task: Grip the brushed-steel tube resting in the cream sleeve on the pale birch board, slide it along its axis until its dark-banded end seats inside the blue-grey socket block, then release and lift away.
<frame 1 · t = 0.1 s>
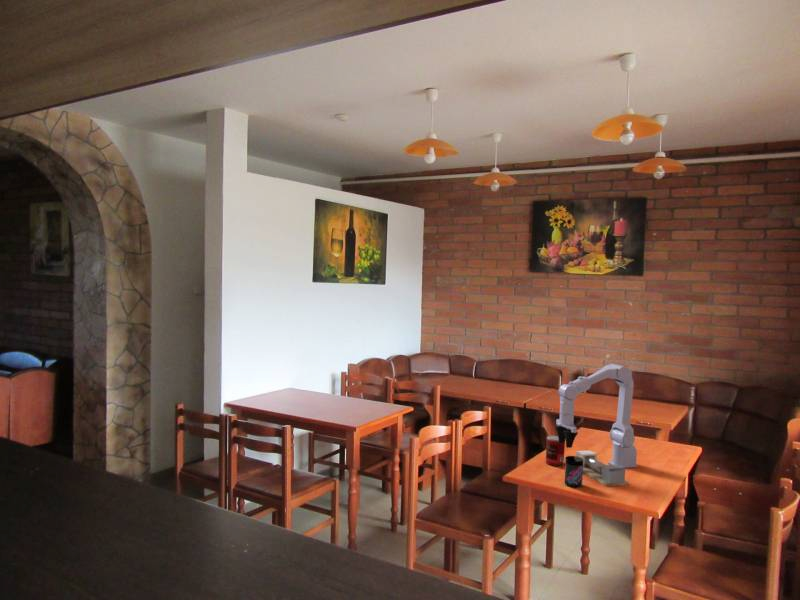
hand: (565, 445, 242), 10 cm above the table, tool pointing down, fingers open, 6 cm apart
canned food: (554, 463, 250), on the table, touching gripper
board: (597, 474, 237), on the table
tube: (592, 463, 241), point 3 cm above the table, slide at 0.0 cm
supplement container: (573, 485, 224), on the table
socket: (612, 482, 228), resting on board
sleeve: (585, 467, 246), resting on board
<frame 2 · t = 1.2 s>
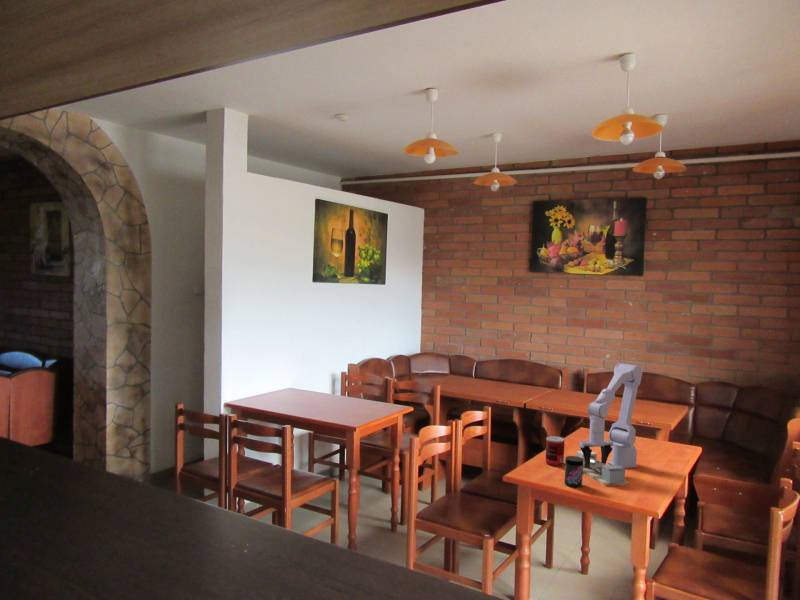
hand: (595, 463, 239), 4 cm above the table, tool pointing down, fingers open, 7 cm apart
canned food: (554, 464, 250), on the table
everything else where it was.
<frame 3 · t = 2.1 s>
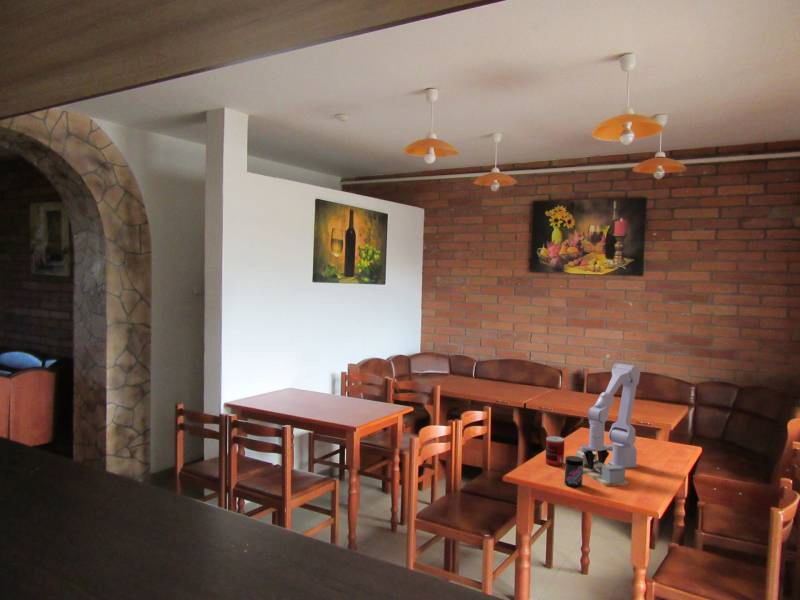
hand: (595, 468, 239), 2 cm above the table, tool pointing down, fingers closed on tube, 4 cm apart
tube: (592, 463, 241), point 3 cm above the table, slide at 0.0 cm, touching gripper
everything else where it was.
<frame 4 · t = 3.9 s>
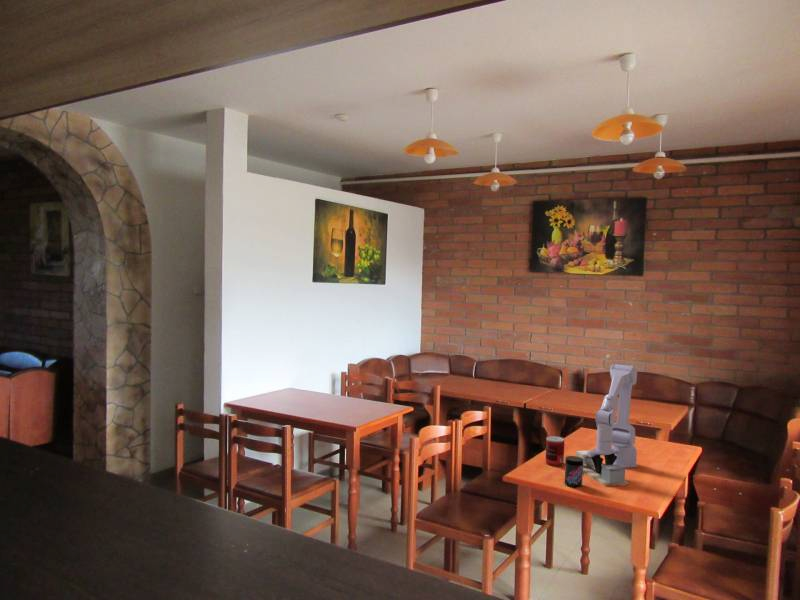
hand: (603, 472, 234), 2 cm above the table, tool pointing down, fingers closed on tube, 4 cm apart
tube: (599, 467, 236), point 3 cm above the table, slide at 5.0 cm, touching gripper
everything else where it was.
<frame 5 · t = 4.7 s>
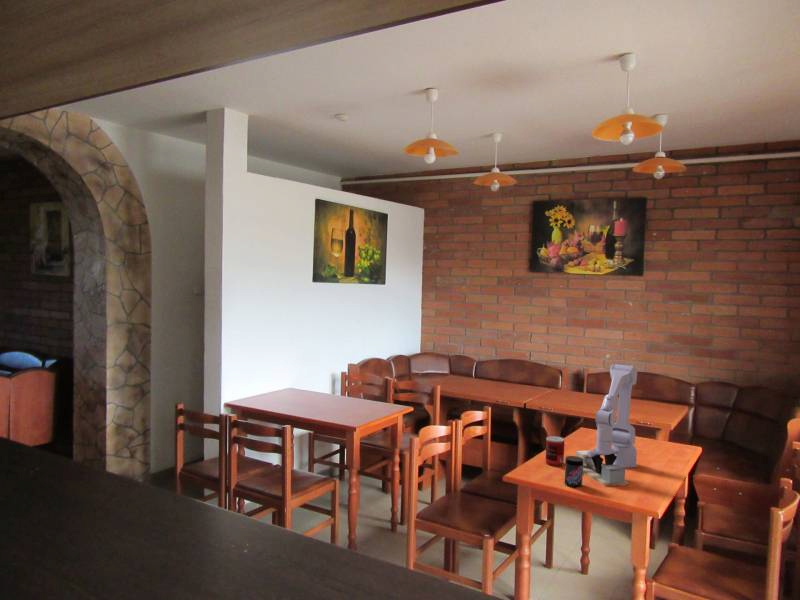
hand: (603, 472, 234), 2 cm above the table, tool pointing down, fingers closed on tube, 4 cm apart
tube: (599, 467, 236), point 3 cm above the table, slide at 5.0 cm, touching gripper
everything else where it was.
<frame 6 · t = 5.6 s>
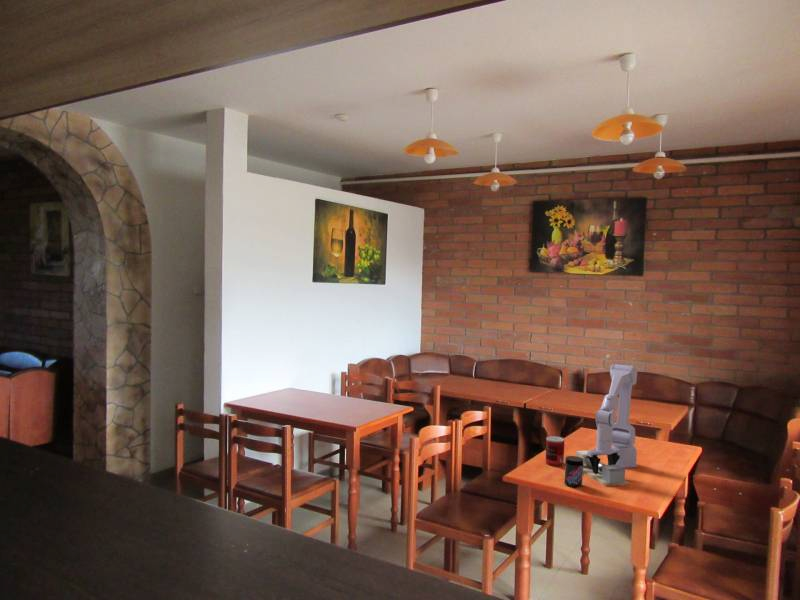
hand: (603, 472, 234), 2 cm above the table, tool pointing down, fingers open, 7 cm apart
tube: (599, 467, 236), point 3 cm above the table, slide at 5.0 cm
everything else where it was.
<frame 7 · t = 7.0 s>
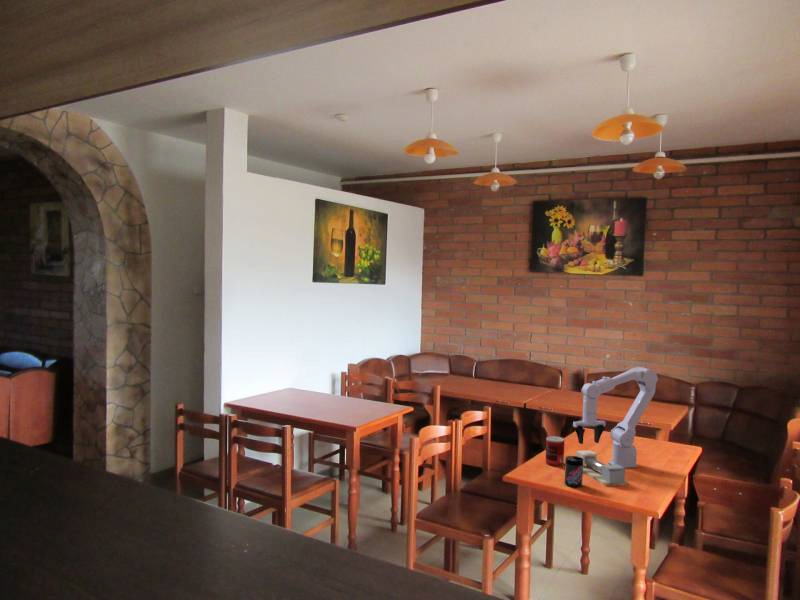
hand: (588, 442, 248), 10 cm above the table, tool pointing down, fingers open, 7 cm apart
nothing on the table moved.
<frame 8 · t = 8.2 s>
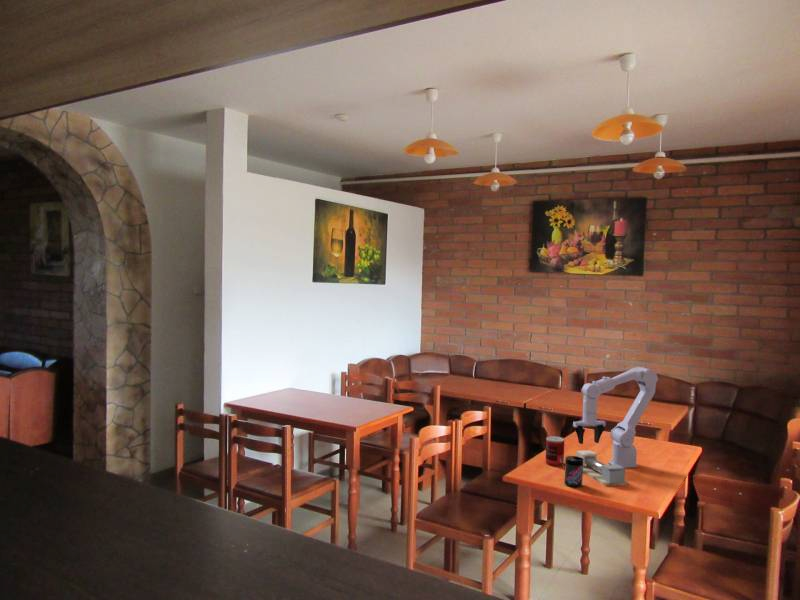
hand: (588, 442, 248), 10 cm above the table, tool pointing down, fingers open, 7 cm apart
nothing on the table moved.
at the end: tube slide at 5.0 cm; the gripper is holding nothing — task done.
